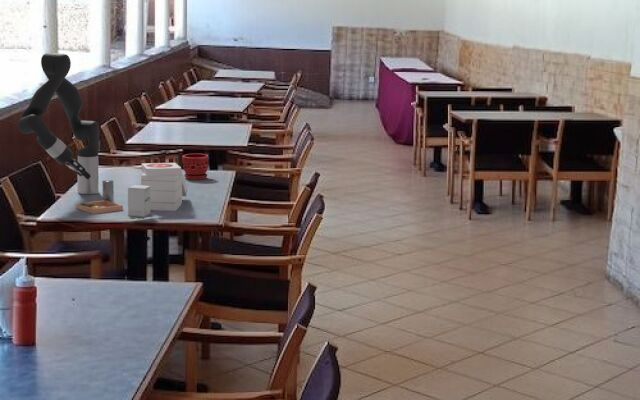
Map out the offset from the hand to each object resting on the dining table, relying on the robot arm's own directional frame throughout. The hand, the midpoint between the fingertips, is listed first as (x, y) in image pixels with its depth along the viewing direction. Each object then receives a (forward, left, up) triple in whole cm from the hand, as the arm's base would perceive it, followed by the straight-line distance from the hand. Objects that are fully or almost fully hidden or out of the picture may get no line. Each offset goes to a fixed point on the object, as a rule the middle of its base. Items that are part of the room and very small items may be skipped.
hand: (85, 176), depth 428 cm
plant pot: (-35, +83, -14) cm, 91 cm away
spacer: (+2, +10, -14) cm, 17 cm away
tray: (+10, +1, -14) cm, 17 cm away
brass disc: (+13, -3, -13) cm, 19 cm away
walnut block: (+7, -3, -13) cm, 15 cm away
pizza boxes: (+12, +32, -14) cm, 37 cm away
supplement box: (+28, +9, -14) cm, 32 cm away
